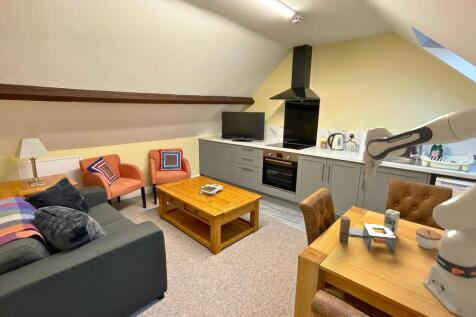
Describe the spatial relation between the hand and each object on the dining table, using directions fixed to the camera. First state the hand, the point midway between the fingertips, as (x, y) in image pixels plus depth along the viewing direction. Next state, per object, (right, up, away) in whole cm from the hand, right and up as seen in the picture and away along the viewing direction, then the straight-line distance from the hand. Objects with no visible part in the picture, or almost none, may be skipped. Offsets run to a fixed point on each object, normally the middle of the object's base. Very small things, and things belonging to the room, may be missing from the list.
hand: (368, 184), depth 124 cm
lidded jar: (+33, -33, +4) cm, 47 cm away
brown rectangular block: (-10, -32, +8) cm, 35 cm away
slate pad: (+1, -30, +17) cm, 35 cm away
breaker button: (+7, -30, +3) cm, 31 cm away
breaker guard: (+7, -33, +4) cm, 34 cm away
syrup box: (+20, -31, +15) cm, 40 cm away
